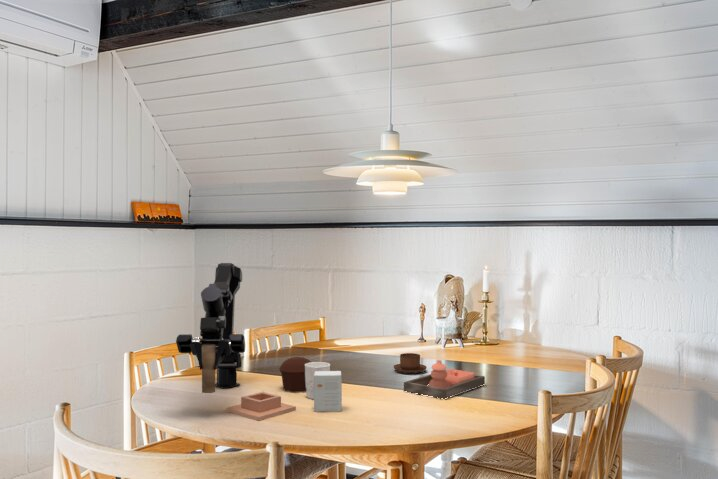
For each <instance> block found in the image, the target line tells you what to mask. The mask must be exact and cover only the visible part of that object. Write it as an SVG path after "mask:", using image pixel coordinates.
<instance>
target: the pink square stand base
mask: <svg viewBox="0 0 718 479" xmlns="http://www.w3.org/2000/svg"><path fill="white" fill-rule="evenodd" d="M296 410H297V406H295V405H291V404H287V403H283V402H282V396H280V395H278V394H277V395H276V394H272V393H269V392H265V391H261V392H260V391H259V392H256V393H253V394H248V395H244V396H241V397H240V403H239V404H235V405H232V406H231V405H230V406H227V407H225V411H226V412H227V413H231V414H234V415H237V416H241V417H244V418H247V419H251V420H255V421H262V420H267V419H269V418H274V417H276V416H280V415H283V414H286V413H291V412H293V411H296Z"/></svg>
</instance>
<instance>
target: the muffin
mask: <svg viewBox="0 0 718 479" xmlns="http://www.w3.org/2000/svg"><path fill="white" fill-rule="evenodd" d="M310 362H312V361H311V360H309V359H308V358H306V357H303V356H294V357H293V356H292V357H290V358H287V359H286V360H284V361H283V362H282V364H281V365H280V367H279V370H278V371H279V372H280V373H281V379H282V380H281V381H282V388H283V390H284V391H286V392H291V393H293V392H294V393H300V392H306V383H305V364H306V363H310Z"/></svg>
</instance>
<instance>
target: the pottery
mask: <svg viewBox="0 0 718 479" xmlns="http://www.w3.org/2000/svg"><path fill="white" fill-rule="evenodd" d="M430 368H431V369H432V371H431V372H430V374H431V376H432V378H433V379H432V380H431V381H430V382H429V385H428V386H432V387H437V388H442V389H444V388H447V387H450V386H453V385H456V384H459V383H462V382H465V381H468V380H471V379H474V378H475V375H476V372H471V371H465V370H460V369H454V368H449V369H447V368H448V367H447V364H446V365H445V364H444V363H442V360H436V363H433V364H432V365H431V366H430ZM445 370H446V371H445Z"/></svg>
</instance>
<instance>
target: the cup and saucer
mask: <svg viewBox="0 0 718 479" xmlns="http://www.w3.org/2000/svg"><path fill="white" fill-rule="evenodd" d="M393 369H394V370H395V371H397V372H398V373H403V374H418V373H422V372H425V371H426V370H427V366H426V365H424V364H421V355H420V354H419V353H413V352H405V353H400V354H399V363H397V364H394V365H393Z"/></svg>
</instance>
